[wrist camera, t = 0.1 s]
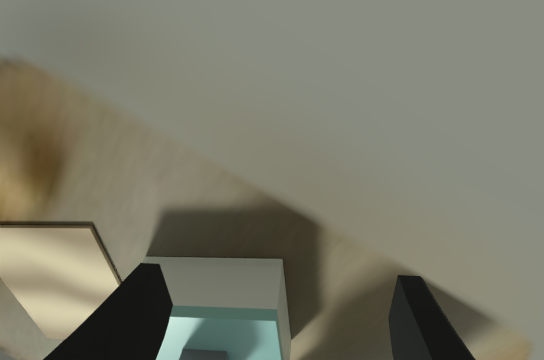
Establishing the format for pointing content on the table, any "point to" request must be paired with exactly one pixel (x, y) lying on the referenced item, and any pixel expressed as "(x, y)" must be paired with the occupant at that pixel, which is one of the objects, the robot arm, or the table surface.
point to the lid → (221, 334)
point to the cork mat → (56, 273)
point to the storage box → (228, 285)
